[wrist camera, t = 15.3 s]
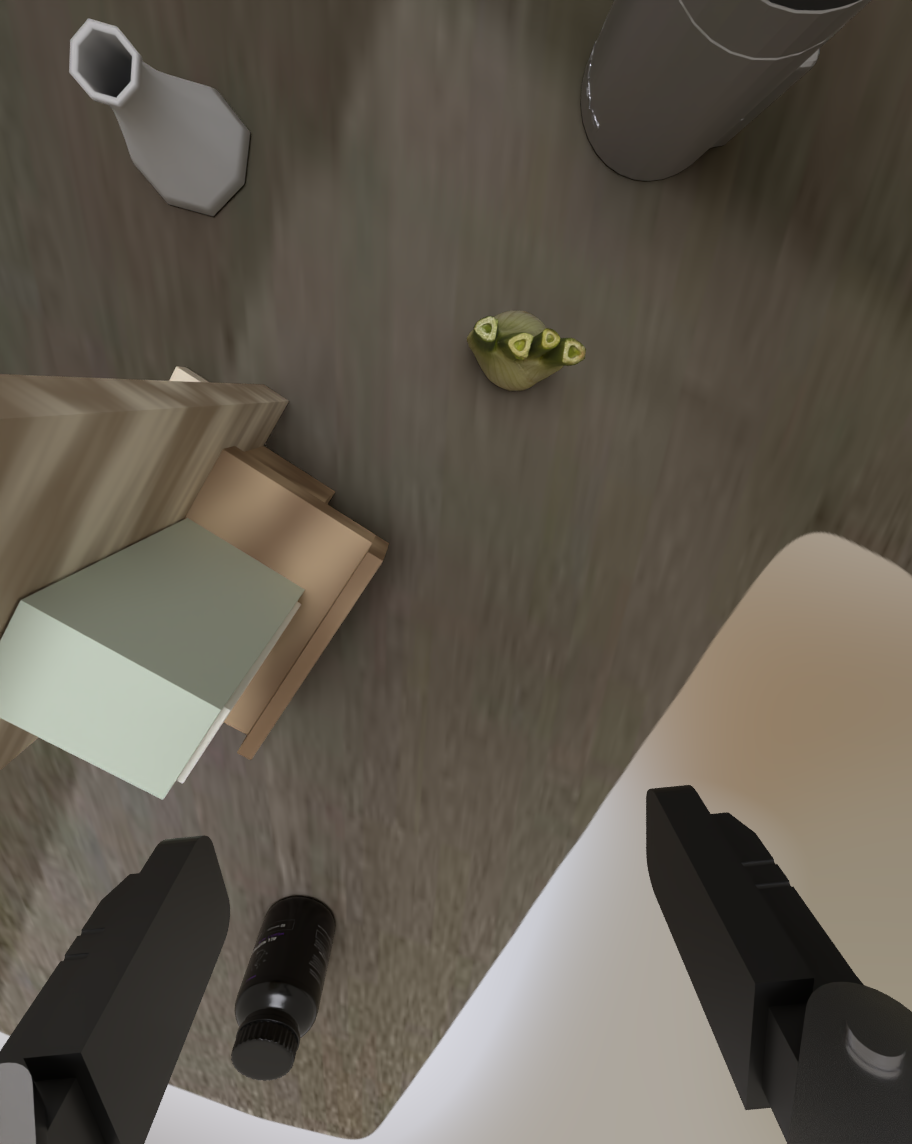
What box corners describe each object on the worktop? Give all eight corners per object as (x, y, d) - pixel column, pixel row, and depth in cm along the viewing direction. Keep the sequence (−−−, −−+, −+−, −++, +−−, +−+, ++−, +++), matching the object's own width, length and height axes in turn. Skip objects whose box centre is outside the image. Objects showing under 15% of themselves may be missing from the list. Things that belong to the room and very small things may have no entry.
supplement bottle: (271, 887, 54) (225, 1021, 42) (343, 901, 54) (316, 1036, 43) (259, 940, 56) (211, 1083, 44) (328, 953, 56) (298, 1097, 45)
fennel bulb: (456, 352, 40) (461, 336, 28) (503, 293, 39) (528, 253, 27) (517, 408, 41) (546, 415, 30) (564, 353, 40) (613, 338, 29)
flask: (221, 239, 37) (145, 187, 28) (116, 170, 36) (-1, 90, 27) (271, 128, 36) (208, 33, 26) (162, 52, 34) (55, -78, 25)
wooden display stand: (419, 487, 43) (369, 683, 14) (276, 704, 48) (27, 1171, 19) (199, 341, 39) (-459, 207, 11) (71, 592, 44) (-600, 955, 16)
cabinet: (309, 592, 35) (228, 713, 22) (269, 652, 37) (169, 803, 23) (187, 517, 34) (20, 600, 20) (150, 583, 35) (-31, 702, 22)
